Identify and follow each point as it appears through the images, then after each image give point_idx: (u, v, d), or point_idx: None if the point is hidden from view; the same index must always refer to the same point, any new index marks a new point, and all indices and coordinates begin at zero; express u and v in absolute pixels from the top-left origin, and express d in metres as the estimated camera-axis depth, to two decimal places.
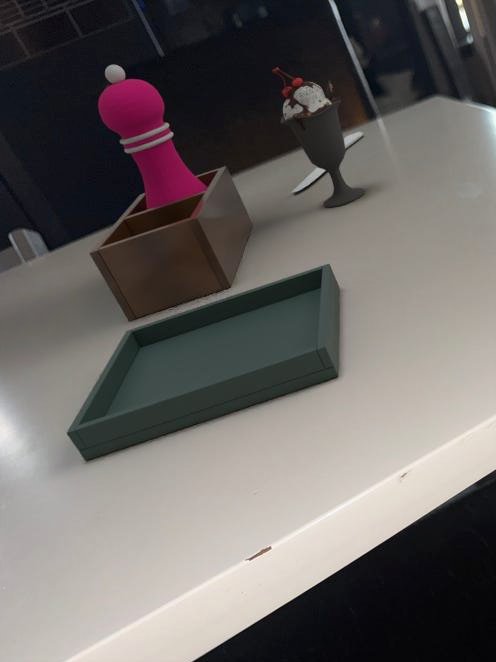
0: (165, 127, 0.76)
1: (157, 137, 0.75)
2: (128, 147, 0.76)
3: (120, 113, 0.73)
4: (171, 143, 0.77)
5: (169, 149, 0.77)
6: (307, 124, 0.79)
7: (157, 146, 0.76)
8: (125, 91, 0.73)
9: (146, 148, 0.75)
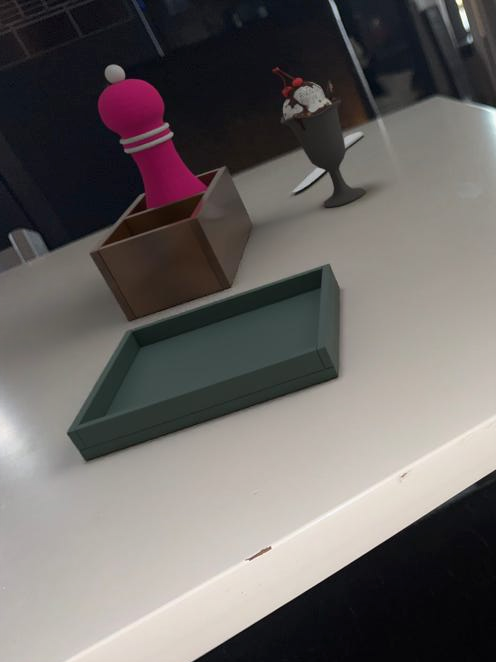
0: (165, 127, 0.76)
1: (157, 137, 0.75)
2: (128, 147, 0.76)
3: (120, 113, 0.73)
4: (171, 143, 0.77)
5: (169, 149, 0.77)
6: (307, 124, 0.79)
7: (157, 146, 0.76)
8: (125, 91, 0.73)
9: (146, 148, 0.75)
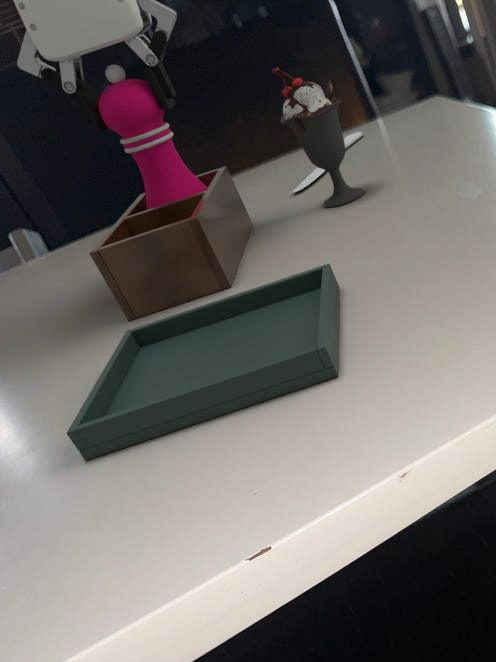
0: (165, 127, 0.76)
1: (157, 137, 0.75)
2: (128, 147, 0.76)
3: (120, 113, 0.73)
4: (171, 143, 0.77)
5: (169, 149, 0.77)
6: (307, 124, 0.79)
7: (157, 145, 0.76)
8: (125, 91, 0.73)
9: (146, 148, 0.75)
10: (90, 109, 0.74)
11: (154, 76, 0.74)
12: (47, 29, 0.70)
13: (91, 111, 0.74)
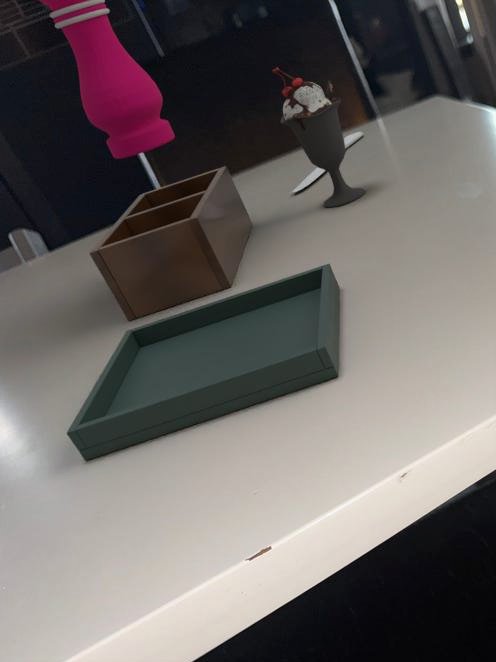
0: (99, 0, 0.70)
1: (90, 10, 0.69)
2: (58, 20, 0.69)
3: None
4: (107, 20, 0.71)
5: (104, 26, 0.71)
6: (307, 124, 0.79)
7: (90, 20, 0.70)
8: None
9: (77, 21, 0.69)
10: None
11: None
12: None
13: None
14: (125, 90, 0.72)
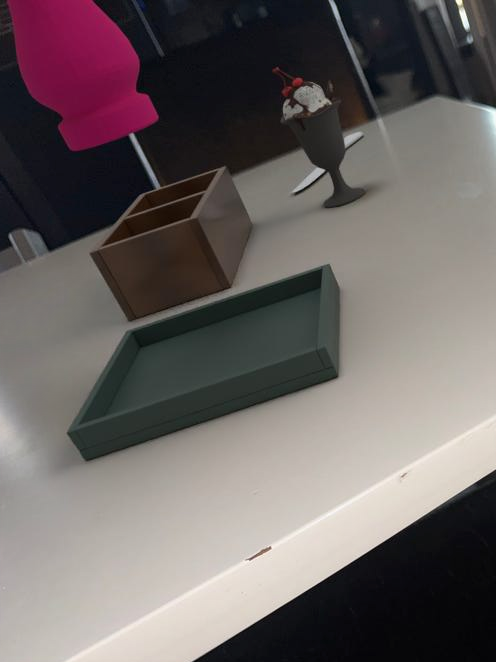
0: None
1: None
2: None
3: None
4: None
5: None
6: (307, 124, 0.79)
7: None
8: None
9: None
10: None
11: None
12: None
13: None
14: (82, 48, 0.48)
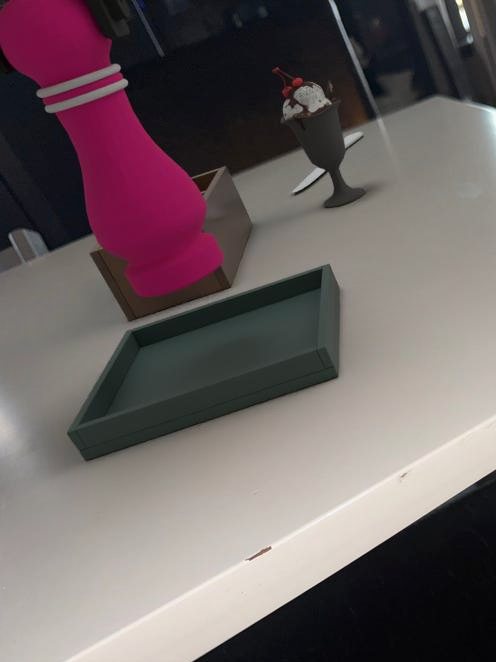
0: (113, 69, 0.46)
1: (98, 85, 0.45)
2: (49, 102, 0.45)
3: (31, 41, 0.42)
4: (124, 97, 0.47)
5: (120, 107, 0.46)
6: (307, 124, 0.79)
7: (99, 100, 0.45)
8: (39, 3, 0.42)
9: (79, 104, 0.45)
10: None
11: None
12: None
13: None
14: (154, 204, 0.47)
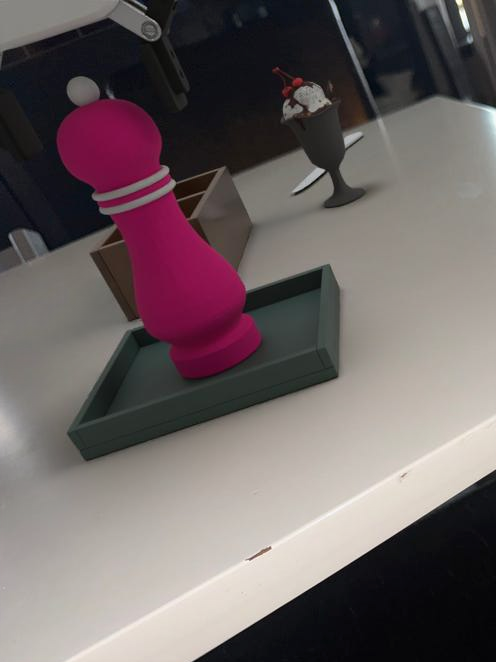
0: (163, 174, 0.49)
1: (150, 190, 0.48)
2: (105, 206, 0.48)
3: (90, 155, 0.45)
4: (172, 197, 0.50)
5: (169, 207, 0.50)
6: (307, 124, 0.79)
7: (151, 203, 0.48)
8: (98, 120, 0.45)
9: (133, 208, 0.48)
10: (3, 127, 0.45)
11: (155, 58, 0.45)
12: None
13: (5, 130, 0.45)
14: (200, 296, 0.50)
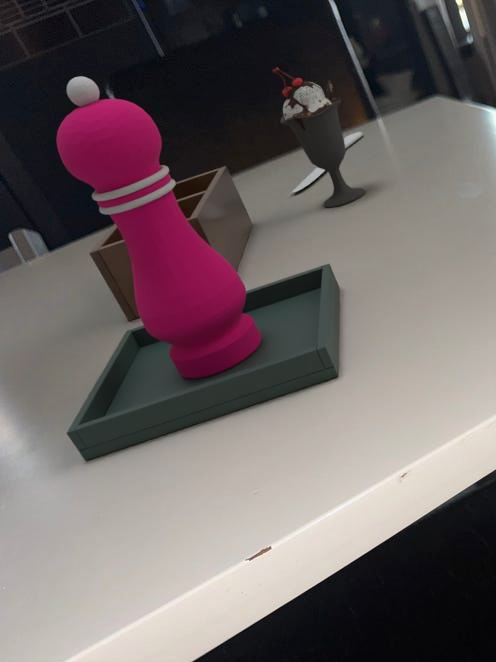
0: (163, 174, 0.49)
1: (150, 190, 0.48)
2: (105, 206, 0.48)
3: (90, 155, 0.46)
4: (172, 197, 0.50)
5: (169, 207, 0.50)
6: (307, 124, 0.79)
7: (151, 203, 0.48)
8: (98, 120, 0.45)
9: (133, 207, 0.48)
10: None
11: None
12: None
13: None
14: (200, 296, 0.50)
